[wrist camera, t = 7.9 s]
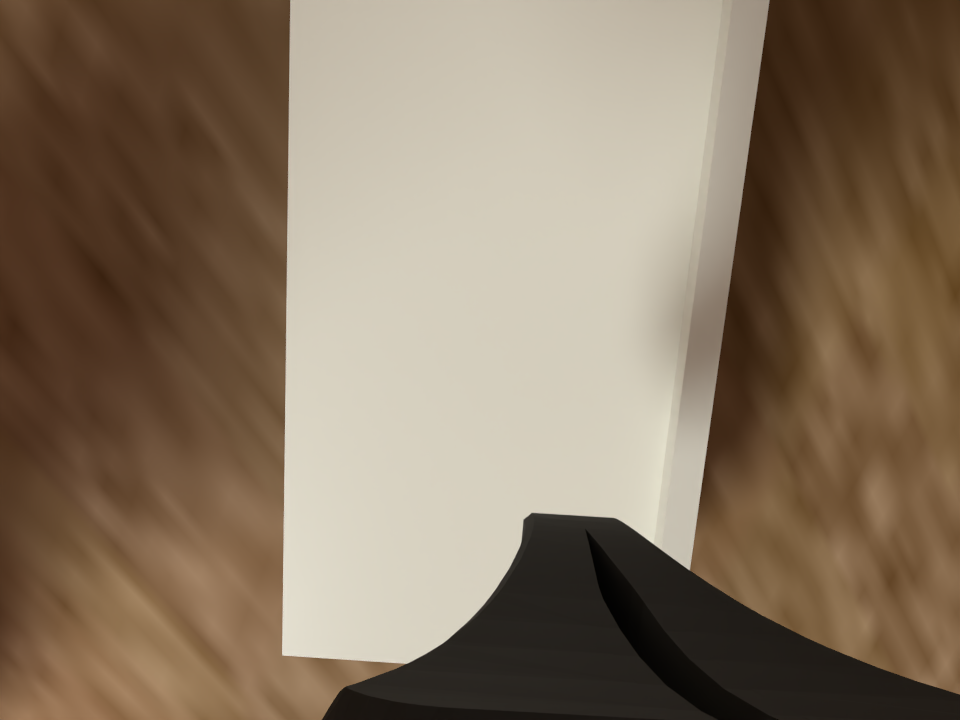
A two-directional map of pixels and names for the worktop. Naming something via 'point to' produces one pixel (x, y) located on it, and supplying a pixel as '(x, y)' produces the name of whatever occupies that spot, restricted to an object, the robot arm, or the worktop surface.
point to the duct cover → (498, 291)
